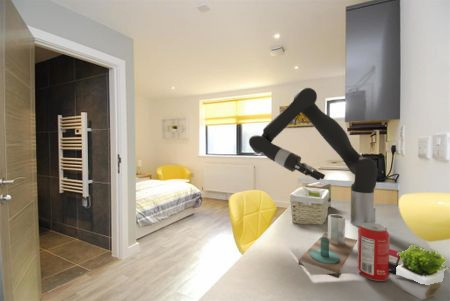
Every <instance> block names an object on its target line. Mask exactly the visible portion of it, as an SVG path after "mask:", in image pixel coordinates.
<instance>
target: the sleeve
mask: <svg viewBox="0 0 450 301" xmlns="http://www.w3.org/2000/svg"><path fill="white" fill-rule="evenodd" d="M327 233H328V239H329V243H331V244H334V245H344V244H345V237H346V216H343V215H342V214H335V213H333V214H331V213H330V214H328V215H327Z"/></svg>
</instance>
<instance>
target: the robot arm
mask: <svg viewBox="0 0 450 301" xmlns="http://www.w3.org/2000/svg"><path fill="white" fill-rule="evenodd" d="M317 98H318V94H317V92H316V90H315V89H314V88H311V87H304V88H302V89H300V90H299V91H298V92H297V93H296V94H295V95H294V96H293V100H292V102H291V103H290V104H289V105H288V106H287V107H285V109H284V110H283V111H281V112H280V113H279V114H278V115H277V116H275V117H274V118H273V119H272V120H270V122H269V123H268V124H267V125H266V126H265V127H264V128H263V130H262V131H263V132H262V134H261V135H259V134H254V135H252V136H251V137H249V141H248V143H249V146H250V148H251V149H252V151H253V152H254V153H257V154H261V153H262V155H264V156H265V157H266V158H267V159H270V160H271V161H272V162H274V163H276V164H277V165H279V166H281V167H283V168H284V169H286V170H288V171H290V172H292V173H294V172H295V171H298V172H300V173H301V174H303V175H304V176H307V177H311V178H313V179H315V180H317V181H320V180H324V179H325V176H326V174H324V173H322V172H321V171H318V170H317V168H315V167H313V166H312V165H308V164H307V163H305V162H301V161H302V156H300V155H298V154H297V153H296V154H295V153H294V152H292V151H290V150H287V149H284V148H282V147H280V146H279V145H276V144H274V143H273V141H274V139H275V138H277V137H278V136H279V135H280V134H281V133H282V131H284V130H285V129H286V127H288V126H289V125H290V123H291V122H292V121H293V120H294V119H295V118H297V117H298V116H299V115H300V114H301V113H302V115H303V116H304V117H306V119H308V121H309V122H310V123H311V124H312V126H313V127H314V128H315V129H316V131H317V132H318V133H319V134H320V135H321V137H322V138H323V139H324V140H325V142H327V144H328V145H329V146H330V147H331V148H332V149H333V151H335V152H336V153H337V154H338V155H339V157H340V158H341V160H342V161H343V162H344V164H345V165H346V167H347V169H348V170H349V171H350V173H351V174H353V175H354V182H353V183H352V184H351V185H350V224H351V225H352V226H355V227H358V228H359V227H360V226H361V223H375V224H376V207H375V208H374V204H375V203H374V202H375V200H374V198H375V188H376V186H377V178H378V177H377V175H378V168H377V166H378V165H377V163H376V162H375V161H374V160H373V159H371V158H369V157H364V156H363V155H361V154H360V153H359V152H358V151H357V150H356V149H355V148H354V147H353V145H352V144H351V141H350V138H349V135H348V134H347V132H346V131H345V130H344V128H343V127H342V126H341V124H339V123H338V121H336V120H335V119H334V118H332V117H331V116H329V115H327V114H326V113H324V111H322V110H321V109H320V108H319V106H318V105H317V104H316V102H317V100H318V99H317Z"/></svg>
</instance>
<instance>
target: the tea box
mask: <svg viewBox="0 0 450 301" xmlns="http://www.w3.org/2000/svg"><path fill="white" fill-rule="evenodd" d="M331 184H332V183H326V182H317V181H316V182H311V183H308V184H305V187H308V188H317V189H327V190H329V198H328V199H329V200H328V208H329V207H331V206H332V200H331V199H332V198H331V197H332V185H331ZM309 196H315V197H320V194H319V193H310V192H309Z"/></svg>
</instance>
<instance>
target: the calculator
mask: <svg viewBox="0 0 450 301" xmlns="http://www.w3.org/2000/svg"><path fill="white" fill-rule="evenodd" d="M399 252H400V251H398V250H394V249H391V248H389V274H391V275H395V276H397V275H396V267H397V266H398V265H401V264H402V261H401V259H400V256H399Z"/></svg>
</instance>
